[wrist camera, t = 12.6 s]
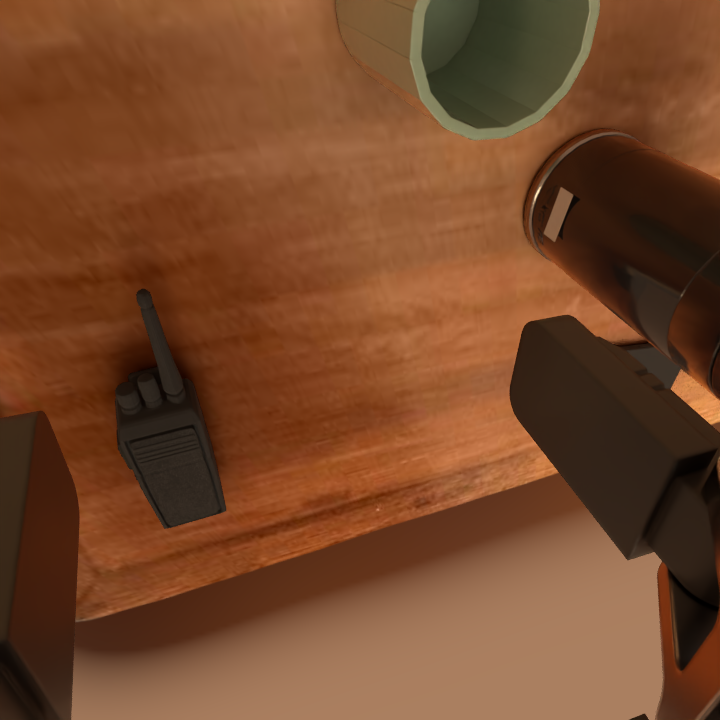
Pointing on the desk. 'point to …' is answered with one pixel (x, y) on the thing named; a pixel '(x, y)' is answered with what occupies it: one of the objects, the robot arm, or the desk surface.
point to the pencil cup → (472, 56)
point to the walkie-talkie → (167, 435)
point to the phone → (655, 362)
